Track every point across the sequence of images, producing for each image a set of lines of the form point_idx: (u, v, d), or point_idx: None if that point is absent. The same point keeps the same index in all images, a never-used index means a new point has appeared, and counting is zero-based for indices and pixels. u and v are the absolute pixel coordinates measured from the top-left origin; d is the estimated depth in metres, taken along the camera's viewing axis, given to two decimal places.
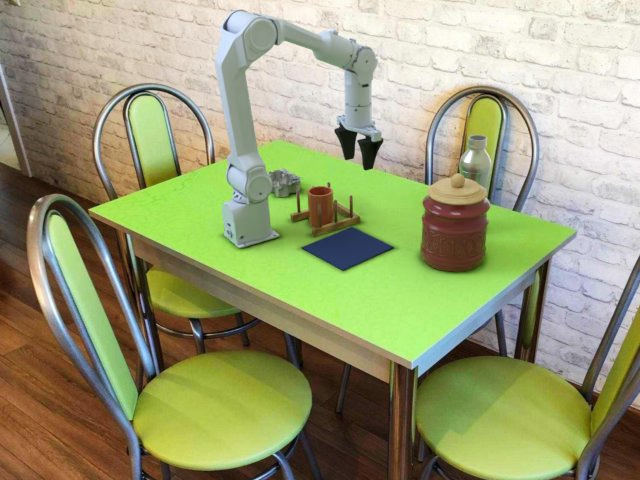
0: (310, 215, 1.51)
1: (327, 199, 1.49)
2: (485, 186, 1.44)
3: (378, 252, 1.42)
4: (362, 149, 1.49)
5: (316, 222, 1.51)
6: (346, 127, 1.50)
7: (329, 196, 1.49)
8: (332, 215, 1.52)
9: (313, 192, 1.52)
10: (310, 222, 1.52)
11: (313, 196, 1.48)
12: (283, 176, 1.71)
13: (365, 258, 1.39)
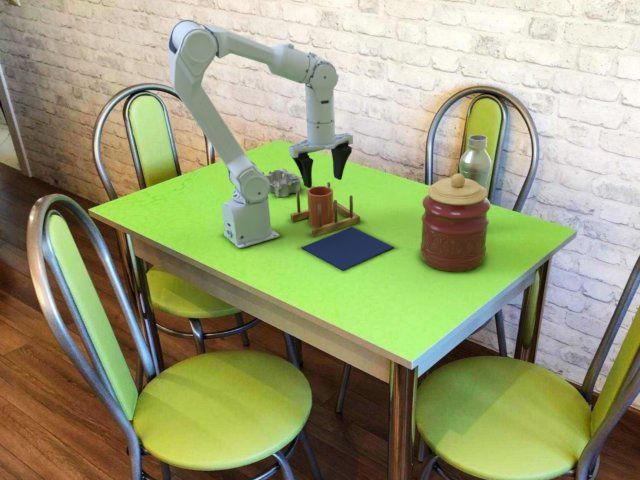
0: (310, 215, 1.51)
1: (327, 199, 1.49)
2: (485, 186, 1.44)
3: (378, 252, 1.42)
4: None
5: (316, 222, 1.51)
6: None
7: (329, 196, 1.49)
8: (332, 215, 1.52)
9: (313, 192, 1.52)
10: (310, 222, 1.52)
11: (313, 196, 1.48)
12: (283, 176, 1.71)
13: (365, 258, 1.39)
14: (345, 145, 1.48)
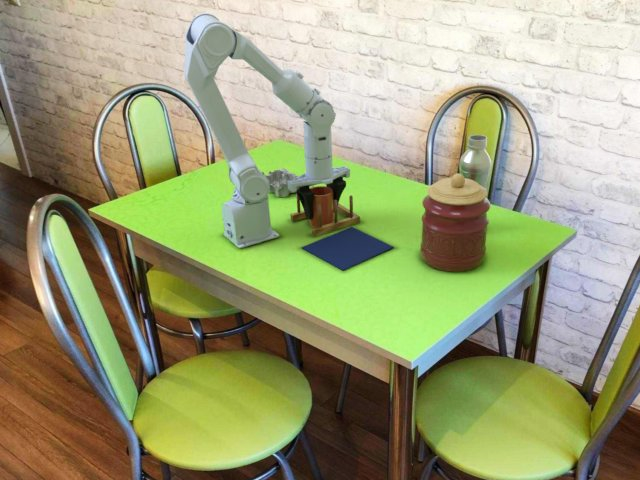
0: None
1: (327, 199, 1.49)
2: (485, 186, 1.44)
3: (378, 252, 1.42)
4: None
5: (316, 222, 1.51)
6: None
7: (329, 196, 1.49)
8: (332, 215, 1.52)
9: None
10: (310, 222, 1.52)
11: None
12: (283, 176, 1.71)
13: (365, 258, 1.39)
14: (339, 179, 1.50)
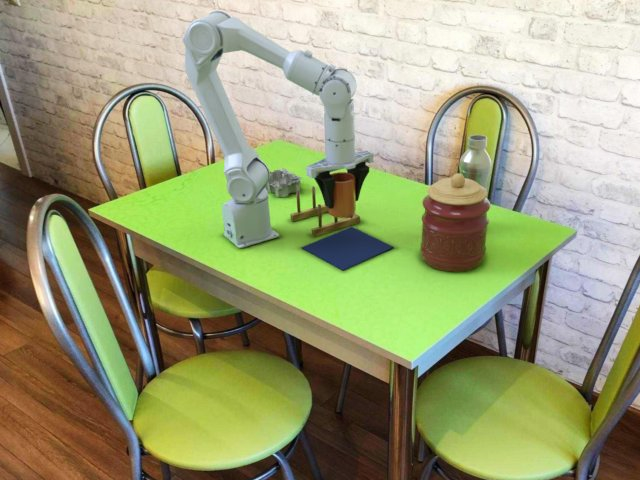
0: None
1: (348, 186, 1.37)
2: (485, 186, 1.44)
3: (378, 252, 1.42)
4: None
5: (337, 211, 1.39)
6: None
7: (351, 183, 1.37)
8: (354, 203, 1.40)
9: None
10: (330, 211, 1.40)
11: None
12: (283, 176, 1.71)
13: (365, 258, 1.39)
14: (362, 164, 1.38)
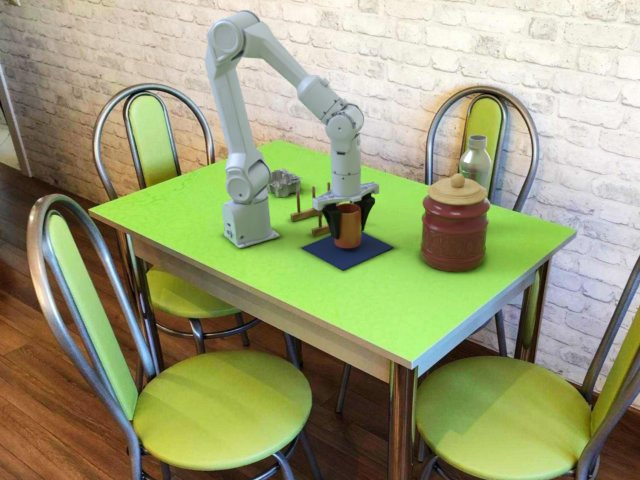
0: None
1: (354, 218, 1.38)
2: (485, 186, 1.44)
3: (378, 252, 1.42)
4: None
5: (342, 242, 1.40)
6: None
7: (357, 214, 1.38)
8: (359, 234, 1.41)
9: (339, 209, 1.41)
10: (336, 242, 1.41)
11: None
12: (283, 176, 1.71)
13: (365, 258, 1.39)
14: (368, 196, 1.39)
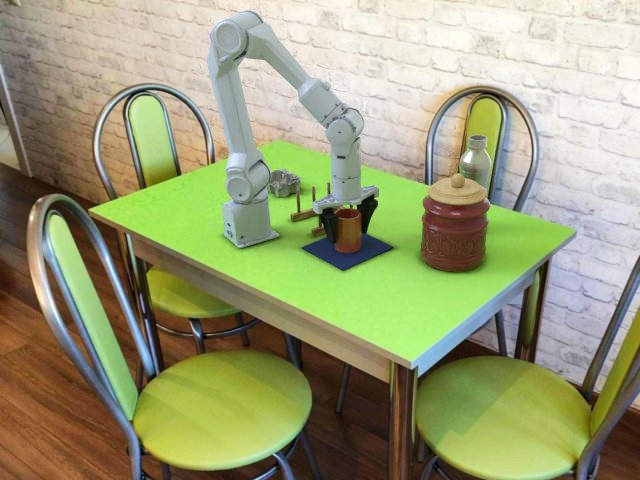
0: (336, 239, 1.41)
1: (355, 223, 1.38)
2: (485, 186, 1.44)
3: (378, 252, 1.42)
4: None
5: (343, 247, 1.41)
6: None
7: (357, 219, 1.38)
8: (359, 239, 1.41)
9: (339, 214, 1.42)
10: (336, 247, 1.42)
11: (340, 219, 1.38)
12: (283, 176, 1.71)
13: (365, 258, 1.39)
14: (371, 198, 1.40)
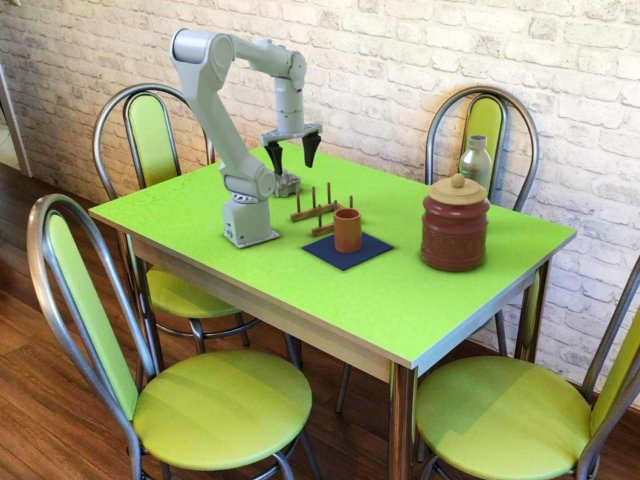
0: (336, 239, 1.41)
1: (355, 223, 1.38)
2: (485, 186, 1.44)
3: (378, 252, 1.42)
4: None
5: (343, 247, 1.41)
6: None
7: (357, 219, 1.38)
8: (359, 239, 1.41)
9: (339, 214, 1.42)
10: (336, 247, 1.42)
11: (340, 219, 1.38)
12: (283, 176, 1.71)
13: (365, 258, 1.39)
14: (314, 134, 1.53)
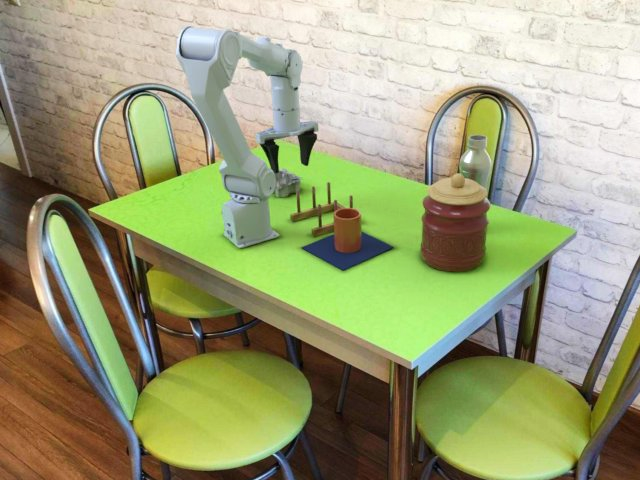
0: (336, 239, 1.41)
1: (355, 223, 1.38)
2: (485, 186, 1.44)
3: (378, 252, 1.42)
4: None
5: (343, 247, 1.41)
6: None
7: (357, 219, 1.38)
8: (359, 239, 1.41)
9: (339, 214, 1.42)
10: (336, 247, 1.42)
11: (340, 219, 1.38)
12: (283, 176, 1.71)
13: (365, 258, 1.39)
14: (310, 132, 1.54)
